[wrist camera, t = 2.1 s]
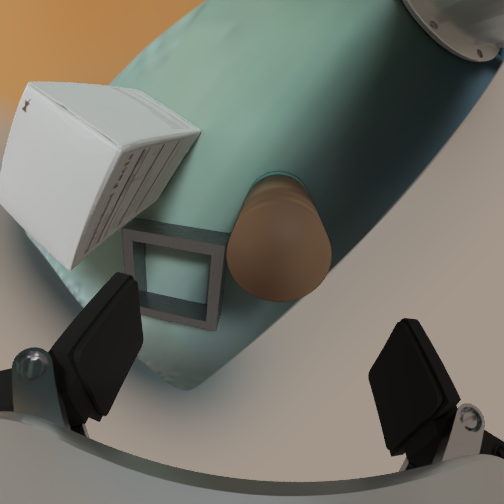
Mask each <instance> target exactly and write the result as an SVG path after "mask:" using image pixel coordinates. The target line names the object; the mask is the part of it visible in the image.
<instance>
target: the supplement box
mask: <svg viewBox="0 0 504 504" xmlns="http://www.w3.org/2000/svg"><path fill="white" fill-rule="evenodd" d="M200 133H201V130H200V129H199V128H197V127H196V126H194V125H193V124H192V123H190V122H189V121H187V120H186V119H184V118H183V117H181V116H180V115H178V114H177V113H175V112H174V111H172V110H171V109H169V108H167V107H166V106H164V105H163V104H161V103H159V102H158V101H156V100H155V99H153V98H151V97H150V96H148V95H146V94H145V93H143V92H141V91H140V90H136V89H129V88H123V87H114V86H106V85H96V84H83V83H68V82H29V83H28V84H27V86H26V88H25V91H24V93H23V95H22V97H21V100H20V102H19V105H18V108H17V111H16V113H15V117H14V120H13V123H12V126H11V130H10V133H9V137H8V140H7V145H6V149H5V153H4V157H3V162H2V166H1V172H0V204H1V205H2V207H3V208H4V209H5V210H6V211H7V212H8V213H9V214H10V215H11V216H12V217H13V218H14V219H15V220H16V221H17V222H18V223H19V224H20V225H21V226H22V227H23V228H24V229H25V230H26V231H27V232H28V233H29V234H30V235H31V236H32V237H33V238H34V239H35V240H36V241H37V242H38V243H39V244H40V245H41V246H42V247H43V248H44V249H45V250H46V251H48V252H49V253H50V254H51V255H52V256H53V257H54V258H55V259H56V260H57V261H59V262H60V263H61V264H62V265H63V266H64V267H65V268H67V269H68V270H69V271H71V270H72V269H73V268H74V267H75V266H77V265H78V264H79V263H80V262H81V261H82V260H83V259H84V258H85V257H87V256H88V255H89V254H90V253H91V252H92V251H94V250H95V249H96V248H97V247H98V246H99V245H101V244H102V243H103V242H104V241H105V240H107V239H108V238H109V237H110V236H111V235H112V234H114V233H115V232H116V231H117V230H119V229H120V228H121V227H123V226H124V225H125V224H126V223H128V222H129V221H130V220H132V219H133V218H134V217H135V216H137V215H138V214H139V213H141V212H142V211H143V210H145V209H146V208H148V207H149V206H150V205H152V204H153V203H154V202H156V201H157V200H158V199H159V197H160V195H161V193H162V192H163V190H164V188H165V187H166V185H167V183H168V182H169V180H170V178H171V177H172V175H173V174H174V172H175V171H176V169H177V167H178V166H179V164H180V163H181V161H182V160H183V158H184V157H185V155H186V154H187V152H188V151H189V149H190V148H191V146H192V145H193V143H194V142H195V140H196V139H197V138H198V136H199V135H200Z"/></svg>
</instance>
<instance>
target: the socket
mask: <svg viewBox="0 0 504 504" xmlns="http://www.w3.org/2000/svg"><path fill="white" fill-rule="evenodd" d="M122 236H123V252H124V265H125V274H128V275H132V276H133V278H134V280H136V281H137V282H138V291H139V303H140V313H141V314H142V315H146V316H150V317H154V318H158V319H162V320H166V321H170V322H175V323H179V324H183V325H188V326H192V327H197V328H202V329H207V330H212V331H216V329H217V326H218V322H219V319H220V315H221V306H222V297H223V288H224V280H225V272H226V263H227V256H226V255H227V246H228V242H229V239H230V234H228V233H222V232H217V231H211V230H205V229H199V228H193V227H187V226H180V225H174V224H168V223H162V222H156V221H149V220H143V219H137V218H135V219H133V220H132V221H131V222H129V223H128V224H127V225H126V226H124V227H123V228H122ZM145 243H147V244H152V245H158V246H163V247H169V248H174V249H179V250H185V251H190V252H196V253H201V254H207V255H211V265H210V277H209V289H208V302H207V305H206V304H201V303H196V302H191V301H186V300H181V299H177V298H172V297H168V296H163V295H159V294H154V293H150V292H147V284H146V265H145Z"/></svg>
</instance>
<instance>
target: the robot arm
mask: <svg viewBox="0 0 504 504" xmlns="http://www.w3.org/2000/svg"><path fill="white" fill-rule="evenodd" d="M402 1H403V3H404V5H405V7H406V8H407V9H408V11H409V12H410V14H411V15H412V16H413V18H414V19H415V20H416V21H417V23H418V24H419V25H420V26H421V27H422V28H423V30H425V31H426V32H427V33H428V34H429V35H430V36H431V37H432V38H433V39H434V40H435V41H436V42H437V43H439V44H440V45H441V46H442V47H443V48H445V49H446V50H448V51H449V52H451V53H452V54H454V55H456V56H458V57H460V58H462V59H465V60H468V61H471V62H484V61H489V60H491V59H493V58H494V57H495V56H496V55H497V54H498V52H499V50H500V48H502V47H504V0H402ZM142 344H143V331H142V322H141V313H140V303H139V291H138V282H137V281H136V280H134V278H133V276H132V275H128V274H124V273H119V272H117V273H115V274H114V275H113V276H112V278H111V279H110V280H109V281H108V282H107V283H106V284H105V285H104V286H103V287H102V288H101V289H100V291H99V292H98V293H97V294H96V295H95V296H94V297H93V298H92V300H91V301H90V302H89V303H88V304H87V305H86V306H85V308H84V309H83V310H82V311H81V312H80V313H79V314H78V316H77V317H76V318H75V319H74V320H73V322H72V323H71V324H70V325H69V326H68V328H67V329H66V330H65V331H64V333H63V334H62V335H61V336H60V337H59V339H58V340H57V341H56V342H55V344H54V345H53V346H52V348H51V349H50V351H49V352H47V351H45V350H44V349H41V348H37V347H34V348H28V349H25V350H23V351H21V352H20V353H19V354H18V355H17V356H16V357H15V359H14V361H13V365H12V368H11V369H7V370H3V371H0V504H504V442H503V441H501V440H500V439H498V438H497V437H495V436H493V435H492V434H490V433H488V432H487V431H485V430H484V426H485V421H484V417H483V415H482V413H481V411H480V410H479V409H478V408H477V407H475V406H474V405H472V404H462V405H461V406H460V407H459V408H458V409H457V406H456V405H457V403H458V402H459V401H460V400H461V399H460V397H459V395H458V393H457V391H456V389H455V387H454V385H453V383H452V380H451V378H450V377H449V375H448V373H447V371H446V369H445V367H444V365H443V363H442V361H441V359H440V358H439V356H438V354H437V352H436V350H435V349H434V347H433V345H432V343H431V341H430V340H429V338H428V336H427V335H426V333H425V331H424V330H423V328H422V326H421V325H420V323H419V321H418V320H416V319H407V318H404V319H402V320H401V321H400V322H398V323H397V324H396V326H395V328H394V329H393V332H392V333H391V335H390V337H389V339H388V340H387V342H386V344H385V346H384V348H383V349H382V351H381V353H380V354H379V356H378V358H377V359H376V361H375V363H374V364H373V366H372V368H371V369H370V372H369V382H370V385H371V389H372V392H373V396H374V400H375V403H376V407H377V411H378V415H379V419H380V423H381V426H382V431H383V435H384V439H385V443H386V447H387V449H388V450H390V453H391V456H397V455H402V454H404V453H406V456H407V457H406V459H405V461H404V463H403V465H402V467H401V468H400V470H399V472H396V473H392V474H386V475H380V476H374V477H367V478H359V479H351V480H339V481H325V482H273V481H257V480H246V479H238V478H229V477H223V476H216V475H210V474H205V473H199V472H194V471H190V470H185V469H180V468H177V467H172V466H169V465H164V464H161V463H158V462H154V461H151V460H147V459H144V458H141V457H138V456H135V455H132V454H129V453H126V452H123V451H120V450H117V449H115V448H112V447H109V446H107V445H104V444H102V443H99V442H97V441H94V440H92V439H90V438H89V435H88V433H87V429H86V426H85V423H86V421H87V419H88V417H89V418H92V419H94V420H96V421H99V422H100V420H101V418H102V416H106V415H107V414H108V413H109V411H110V409H111V406H112V405H113V402H114V400H115V398H116V396H117V394H118V392H119V390H120V388H121V386H122V384H123V382H124V380H125V378H126V376H127V374H128V372H129V370H130V368H131V366H132V364H133V362H134V360H135V358H136V356H137V354H138V353H139V351H140V349H141V347H142Z"/></svg>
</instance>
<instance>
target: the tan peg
mask: <svg viewBox="0 0 504 504" xmlns="http://www.w3.org/2000/svg"><path fill="white" fill-rule="evenodd" d="M226 256H227V264H228V268H229V270H230V273H231V275H232V277H233V278H234V280H235V281H236V282H237V284H238V285H239V286H240V287H241V288H242V289H244V290H245V291H246V292H248V293H249V294H251V295H253V296H255V297H257V298H259V299H262V300H266V301H272V302H286V301H292V300H296V299H299V298H301V297H303V296H306V295H307V294H309V293H311V292H312V291H313V290H315V289H316V288H317V287H318V286H319V285H320V284H321V283H322V281H323V280H324V279H325V277H326V275H327V273H328V271H329V268H330V264H331V258H332V251H331V245H330V241H329V239H328V236H327V234H326V231H325V229H324V227H323V224H322V222H321V220H320V217H319V215H318V213H317V210H316V208H315V206H314V204H313V202H312V199H311V197H310V195H309V193H308V191H307V188H306V187H305V185H304V184H303V182H302V181H301V180H300V179H299V178H297V177H296V176H294V175H293V174H290V173H287V172H283V171H274V172H269V173H266V174H264V175H262V176H260V177H259V178H258V179H257V180H256V181H255V182H254V183H253V184H252V186H251V188H250V190H249V192H248V195H247V197H246V200H245V202H244V205H243V207H242V209H241V212H240V214H239V217H238V219H237V222H236V224H235V227H234V229H233V232H232V234H231V237H230V239H229V242H228V246H227V255H226Z"/></svg>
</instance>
